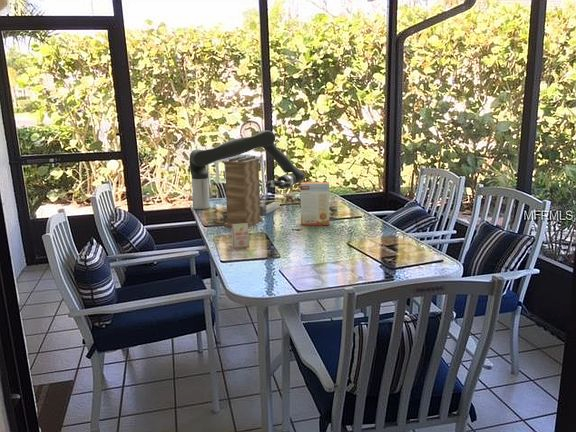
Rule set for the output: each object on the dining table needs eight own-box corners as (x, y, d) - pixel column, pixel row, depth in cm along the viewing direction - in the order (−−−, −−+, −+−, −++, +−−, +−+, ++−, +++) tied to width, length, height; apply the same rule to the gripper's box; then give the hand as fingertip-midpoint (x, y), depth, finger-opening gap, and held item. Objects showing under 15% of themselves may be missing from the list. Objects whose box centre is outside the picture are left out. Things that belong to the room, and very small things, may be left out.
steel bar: (263, 215, 267) (262, 206, 266) (257, 215, 268) (257, 206, 267) (279, 207, 286) (279, 198, 285) (273, 207, 288) (273, 198, 287)
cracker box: (329, 222, 250) (329, 181, 245) (329, 225, 244) (329, 183, 239) (301, 222, 252) (301, 181, 247) (300, 225, 246) (300, 183, 241)
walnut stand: (246, 228, 240) (244, 159, 233) (224, 226, 245) (222, 158, 237) (262, 220, 256) (261, 155, 249) (241, 218, 261) (240, 155, 253)
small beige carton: (231, 246, 212) (231, 223, 210) (247, 244, 214) (246, 222, 212) (233, 248, 209) (232, 225, 207) (249, 247, 211) (248, 224, 208)
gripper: (273, 174, 296) (261, 178, 282) (296, 175, 291) (285, 180, 276) (274, 187, 298) (262, 191, 283) (296, 188, 292) (285, 193, 278)
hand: (273, 186), depth 280 cm, fingers open, 8 cm apart
